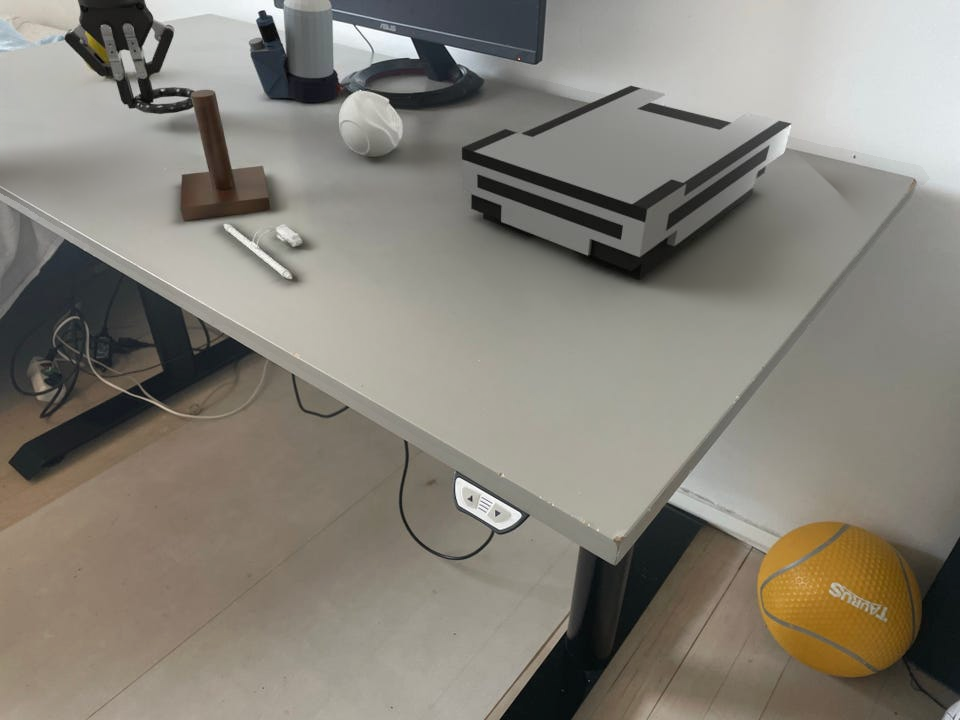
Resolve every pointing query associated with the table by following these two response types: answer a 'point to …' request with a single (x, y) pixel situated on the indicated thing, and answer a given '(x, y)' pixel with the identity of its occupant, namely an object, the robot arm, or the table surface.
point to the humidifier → (310, 50)
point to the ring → (165, 108)
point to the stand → (219, 172)
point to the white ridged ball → (369, 124)
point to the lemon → (97, 50)
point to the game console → (621, 176)
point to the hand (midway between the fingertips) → (139, 106)
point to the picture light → (284, 235)
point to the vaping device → (270, 58)
